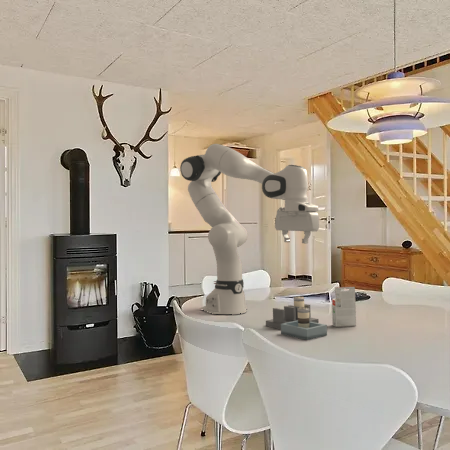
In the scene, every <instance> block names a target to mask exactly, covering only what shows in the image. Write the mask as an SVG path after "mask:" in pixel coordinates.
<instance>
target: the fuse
mask: <svg viewBox="0 0 450 450" xmlns="http://www.w3.org/2000/svg"><path fill="white" fill-rule="evenodd" d="M304 304H305V297H304V296H293V306H298V307H304Z"/></svg>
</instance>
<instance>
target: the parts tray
mask: <svg viewBox="0 0 450 450" xmlns="http://www.w3.org/2000/svg"><path fill="white" fill-rule="evenodd" d="M280 334H281V335H284V336H287V337H288V336H289V337H292V338H297V339H301V340H304V341H309V340H314V339H317V338H321V337H326V336H327V335H328V325H327V324H324V323H315V322H310V328H307V329H306V328H302V327H298V320H297V321H292V322H288V323H283V324H281V329H280Z"/></svg>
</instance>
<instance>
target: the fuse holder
mask: <svg viewBox="0 0 450 450" xmlns="http://www.w3.org/2000/svg"><path fill="white" fill-rule="evenodd" d="M304 307H307V308H309V317H310V322H315V323H319V318H315V317H311V304H306V303H304ZM297 308H300V307H298V306H294V305H289V304H288V305H284V306H283V308H278V307H273V308H272V319H266V320H265V327H269V328H273V329H277V330H281V324H283V323H288V322H292V321H297V320H298V311H297Z"/></svg>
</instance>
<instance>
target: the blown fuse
mask: <svg viewBox="0 0 450 450" xmlns="http://www.w3.org/2000/svg"><path fill="white" fill-rule="evenodd" d="M297 311H298V327H302V328H306V329H307V328H310V317H309V308H307V307H300V308H297Z"/></svg>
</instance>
